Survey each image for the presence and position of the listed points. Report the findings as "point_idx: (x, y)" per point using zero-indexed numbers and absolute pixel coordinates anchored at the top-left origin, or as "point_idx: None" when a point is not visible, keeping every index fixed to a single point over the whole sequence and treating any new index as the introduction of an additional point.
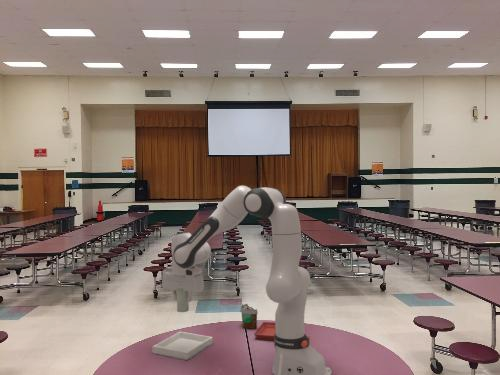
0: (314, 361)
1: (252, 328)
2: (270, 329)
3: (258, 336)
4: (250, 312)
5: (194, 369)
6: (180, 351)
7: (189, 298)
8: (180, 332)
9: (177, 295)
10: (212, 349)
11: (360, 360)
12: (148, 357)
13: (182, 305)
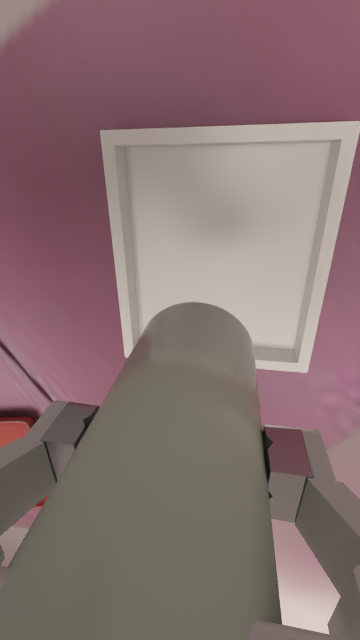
0: None
1: None
2: None
3: (17, 418)
4: None
5: (15, 48)
6: (146, 132)
7: (32, 439)
8: (297, 362)
9: (212, 457)
10: (99, 292)
11: None
12: (340, 55)
13: (147, 345)
